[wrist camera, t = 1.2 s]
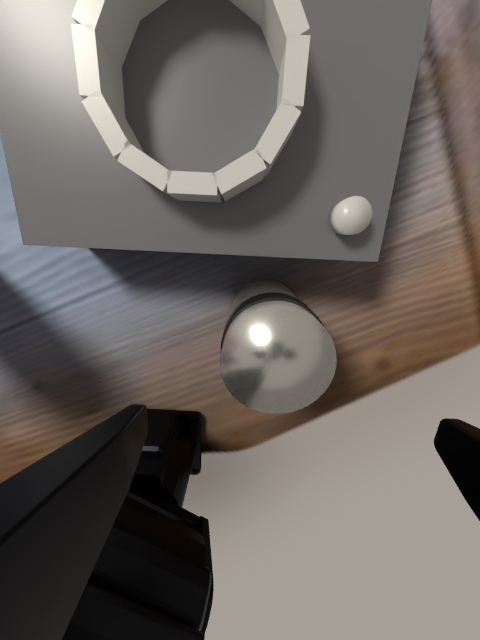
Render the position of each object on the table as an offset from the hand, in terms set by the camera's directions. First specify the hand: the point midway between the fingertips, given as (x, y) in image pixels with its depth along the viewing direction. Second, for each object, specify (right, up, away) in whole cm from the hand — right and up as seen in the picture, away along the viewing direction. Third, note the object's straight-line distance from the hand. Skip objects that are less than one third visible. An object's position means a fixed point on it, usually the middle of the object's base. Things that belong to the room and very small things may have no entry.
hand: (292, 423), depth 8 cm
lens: (0, +4, +11) cm, 12 cm away
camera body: (-3, +14, +8) cm, 17 cm away
